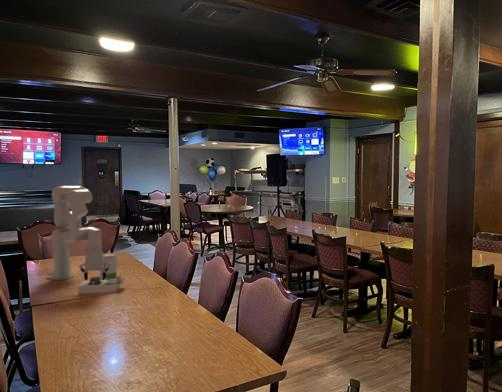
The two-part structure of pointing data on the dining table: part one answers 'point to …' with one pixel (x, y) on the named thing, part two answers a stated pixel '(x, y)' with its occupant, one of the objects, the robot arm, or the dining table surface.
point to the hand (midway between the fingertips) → (95, 279)
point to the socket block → (97, 287)
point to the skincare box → (112, 270)
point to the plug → (95, 281)
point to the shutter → (116, 280)
